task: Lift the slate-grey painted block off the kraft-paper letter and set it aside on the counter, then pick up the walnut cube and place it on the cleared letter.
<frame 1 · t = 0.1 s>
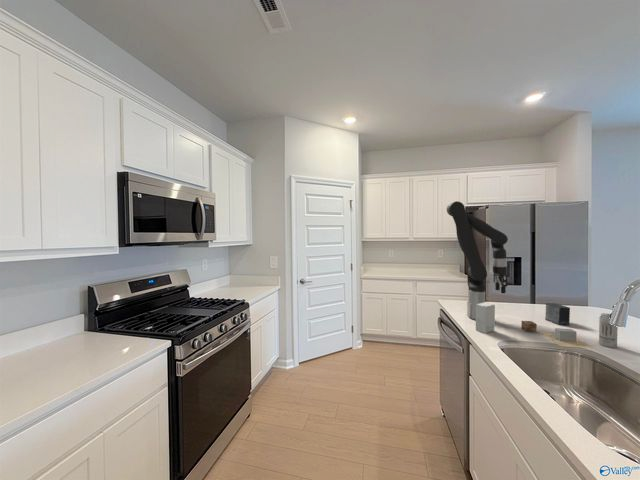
hand: (500, 291, 172), 17 cm above the worktop, tool pointing down, fingers open, 8 cm apart
energy drink can: (607, 346, 132), on the worktop
small box: (557, 322, 166), on the worktop
grey block: (565, 339, 139), resting on letter
walnut cube: (528, 331, 152), on the worktop
letter: (565, 340, 139), on the worktop
skincare box: (485, 331, 153), on the worktop
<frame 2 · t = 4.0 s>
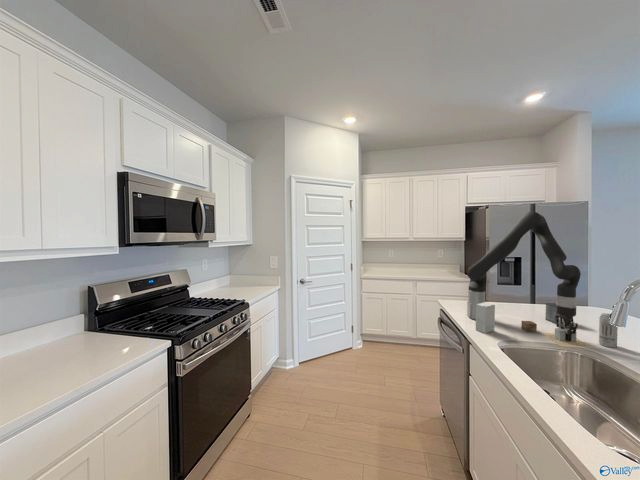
hand: (565, 339, 139), 1 cm above the worktop, tool pointing down, fingers closed on grey block, 4 cm apart
grey block: (565, 339, 139), resting on letter, touching gripper
everything else where it was.
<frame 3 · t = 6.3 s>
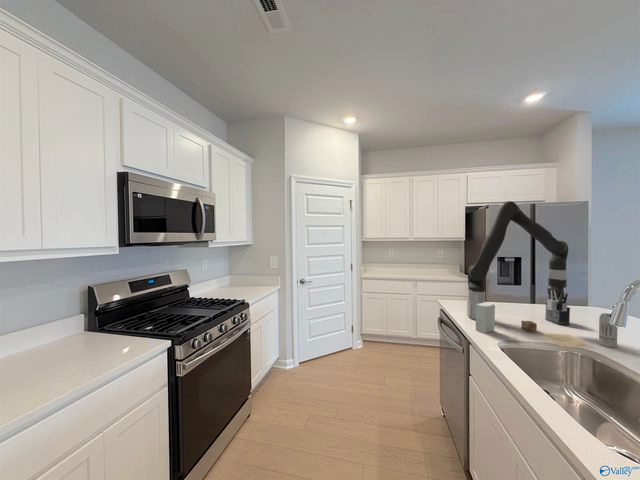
hand: (556, 309, 151), 12 cm above the worktop, tool pointing down, fingers closed on grey block, 4 cm apart
grey block: (556, 310, 151), point 12 cm above the worktop, touching gripper
everything else where it was.
when the fingers open (1 cm above the worktop, at t = 8.5 s): grey block stays where it is, on the worktop.
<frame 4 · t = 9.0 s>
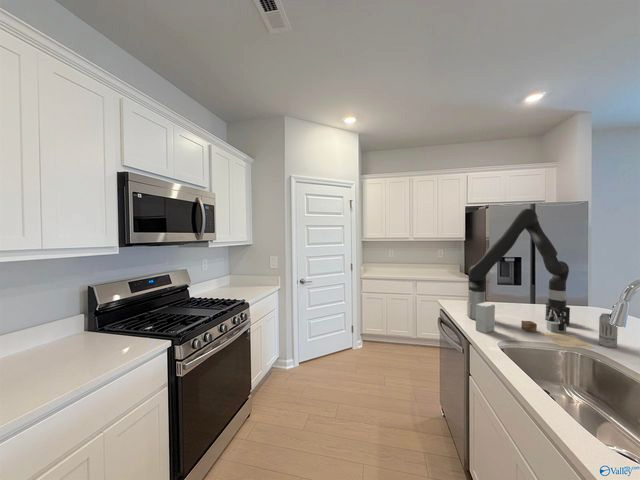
hand: (556, 327, 151), 2 cm above the worktop, tool pointing down, fingers open, 8 cm apart
grey block: (556, 331, 151), on the worktop
everything else where it was.
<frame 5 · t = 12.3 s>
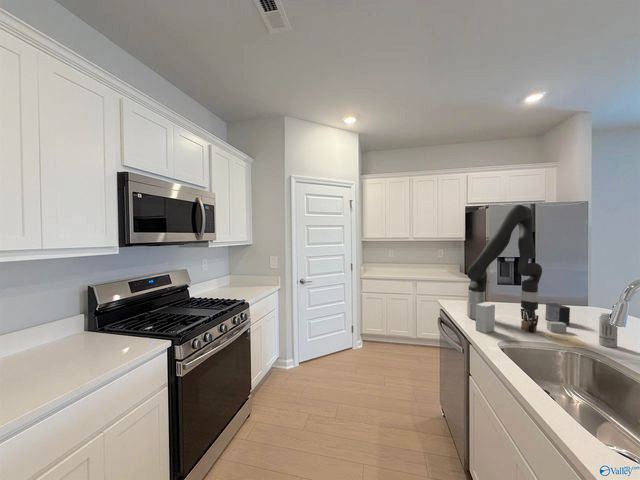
hand: (528, 330, 152), 0 cm above the worktop, tool pointing down, fingers closed on walnut cube, 5 cm apart
walnut cube: (528, 331, 152), on the worktop, touching gripper
everything else where it was.
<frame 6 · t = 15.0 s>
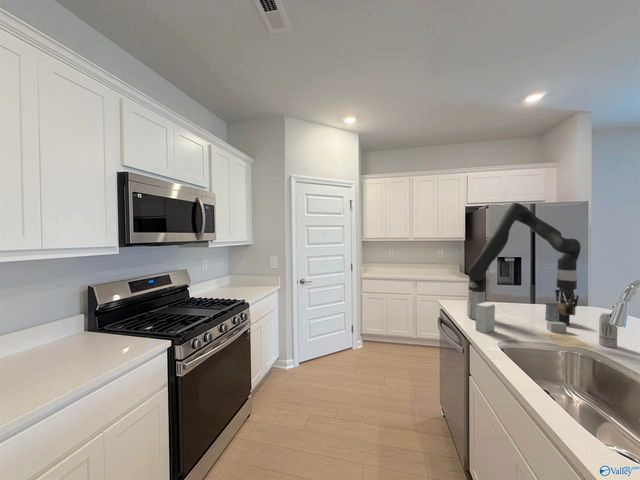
hand: (565, 312, 139), 14 cm above the worktop, tool pointing down, fingers closed on walnut cube, 5 cm apart
walnut cube: (565, 313, 139), point 14 cm above the worktop, touching gripper
everything else where it was.
when the fingers open (2 cm above the worktop, at t = 17.6 s): walnut cube drops 1 cm, resting on letter.
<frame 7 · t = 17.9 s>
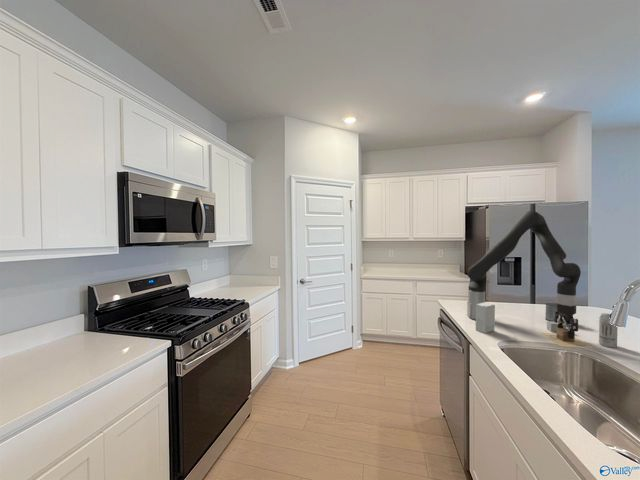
hand: (565, 335, 139), 3 cm above the worktop, tool pointing down, fingers open, 8 cm apart
walnut cube: (565, 339, 139), resting on letter
everything else where it was.
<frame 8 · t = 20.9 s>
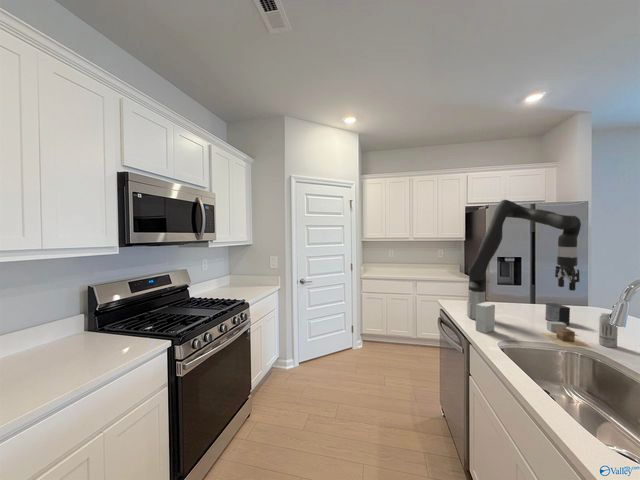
hand: (566, 288, 138), 26 cm above the worktop, tool pointing down, fingers open, 8 cm apart
nothing on the worktop moved.
at the end: walnut cube inside the target area on the letter (0.1 cm from its centre), point 0.3 cm above the letter's base; grey block touching worktop; grey block moved 13.4 cm from its start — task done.
